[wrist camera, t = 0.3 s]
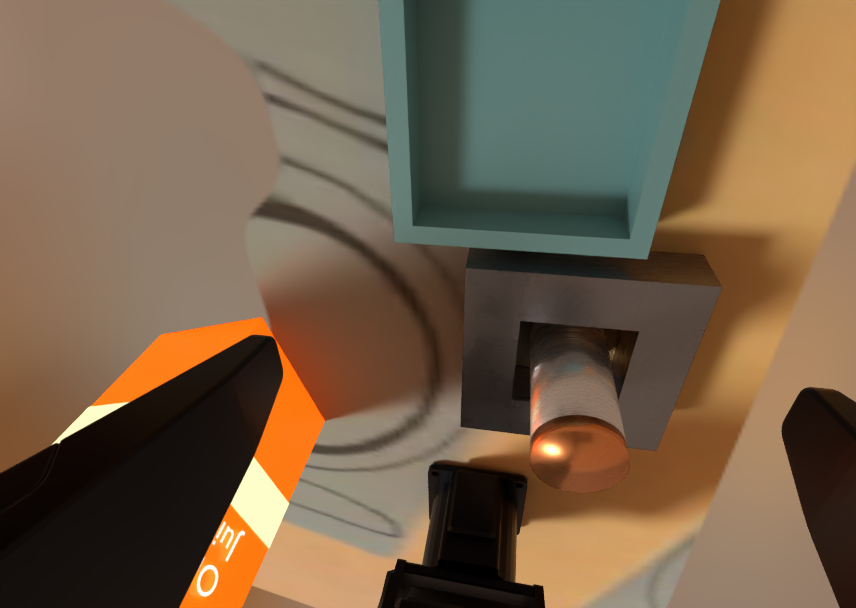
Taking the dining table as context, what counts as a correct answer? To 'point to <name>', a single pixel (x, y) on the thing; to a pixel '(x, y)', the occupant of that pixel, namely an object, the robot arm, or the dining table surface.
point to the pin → (574, 410)
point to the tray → (537, 119)
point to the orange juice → (267, 474)
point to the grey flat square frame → (590, 307)
